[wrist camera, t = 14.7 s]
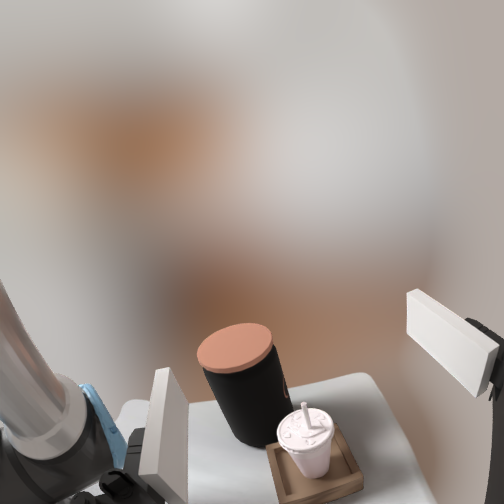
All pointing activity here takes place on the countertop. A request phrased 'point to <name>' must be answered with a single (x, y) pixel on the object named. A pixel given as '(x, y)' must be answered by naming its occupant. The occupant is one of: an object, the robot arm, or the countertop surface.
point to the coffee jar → (247, 381)
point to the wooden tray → (320, 489)
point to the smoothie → (308, 439)
